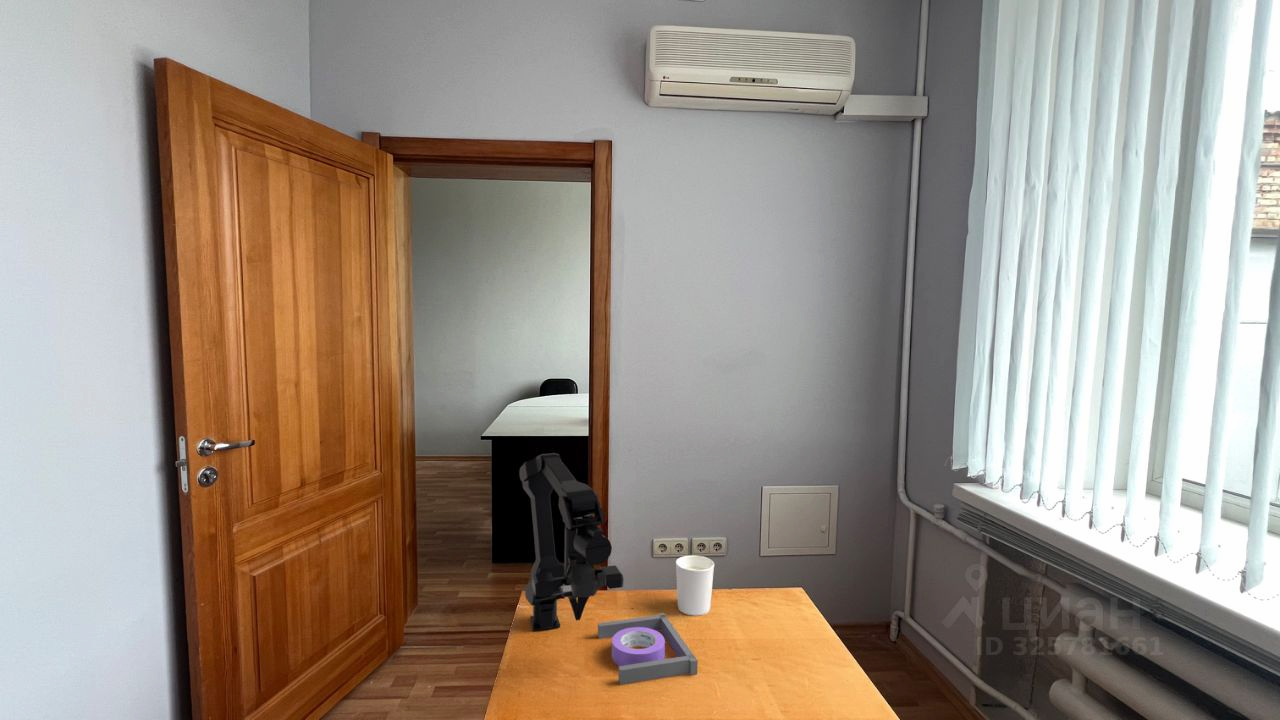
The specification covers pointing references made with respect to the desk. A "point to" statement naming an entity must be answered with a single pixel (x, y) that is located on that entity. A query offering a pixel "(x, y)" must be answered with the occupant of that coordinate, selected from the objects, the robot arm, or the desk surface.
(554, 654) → the desk surface
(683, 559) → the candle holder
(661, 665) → the grey bay
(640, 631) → the masking tape
